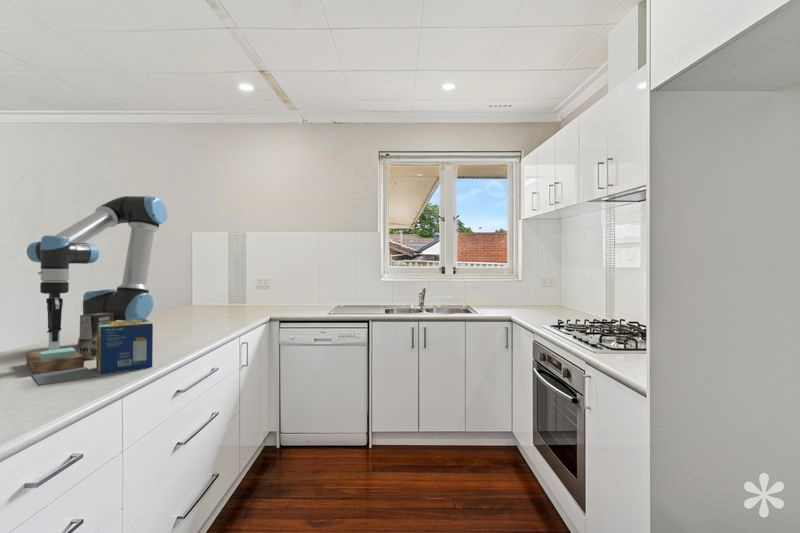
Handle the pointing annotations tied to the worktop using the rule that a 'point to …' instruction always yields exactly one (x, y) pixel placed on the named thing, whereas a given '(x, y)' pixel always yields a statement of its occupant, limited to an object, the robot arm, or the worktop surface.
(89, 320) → the coffee box
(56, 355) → the mint green rectangular slab
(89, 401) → the worktop surface
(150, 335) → the protein box
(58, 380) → the mat
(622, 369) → the worktop surface
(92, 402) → the worktop surface
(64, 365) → the brown wooden block
